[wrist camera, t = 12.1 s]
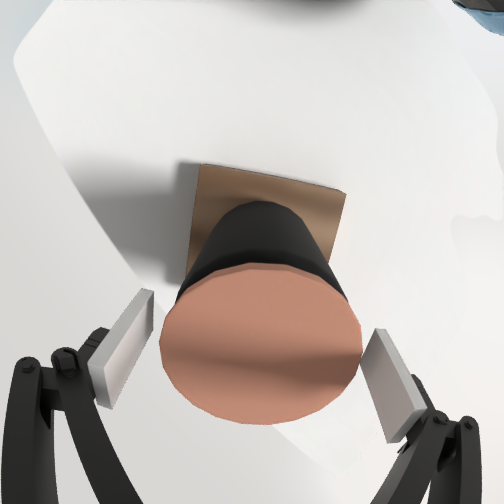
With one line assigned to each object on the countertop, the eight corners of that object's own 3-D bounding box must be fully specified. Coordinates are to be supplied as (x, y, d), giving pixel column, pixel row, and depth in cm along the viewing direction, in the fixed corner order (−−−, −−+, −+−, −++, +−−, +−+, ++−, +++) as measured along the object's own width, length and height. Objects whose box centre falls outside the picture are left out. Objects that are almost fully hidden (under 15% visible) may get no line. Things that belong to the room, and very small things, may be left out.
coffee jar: (203, 284, 33) (157, 407, 16) (219, 188, 29) (165, 245, 12) (297, 302, 33) (322, 432, 16) (323, 211, 30) (396, 291, 13)
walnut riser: (205, 163, 31) (200, 165, 29) (339, 190, 32) (346, 194, 29) (189, 286, 36) (183, 298, 34) (307, 307, 37) (310, 320, 34)
